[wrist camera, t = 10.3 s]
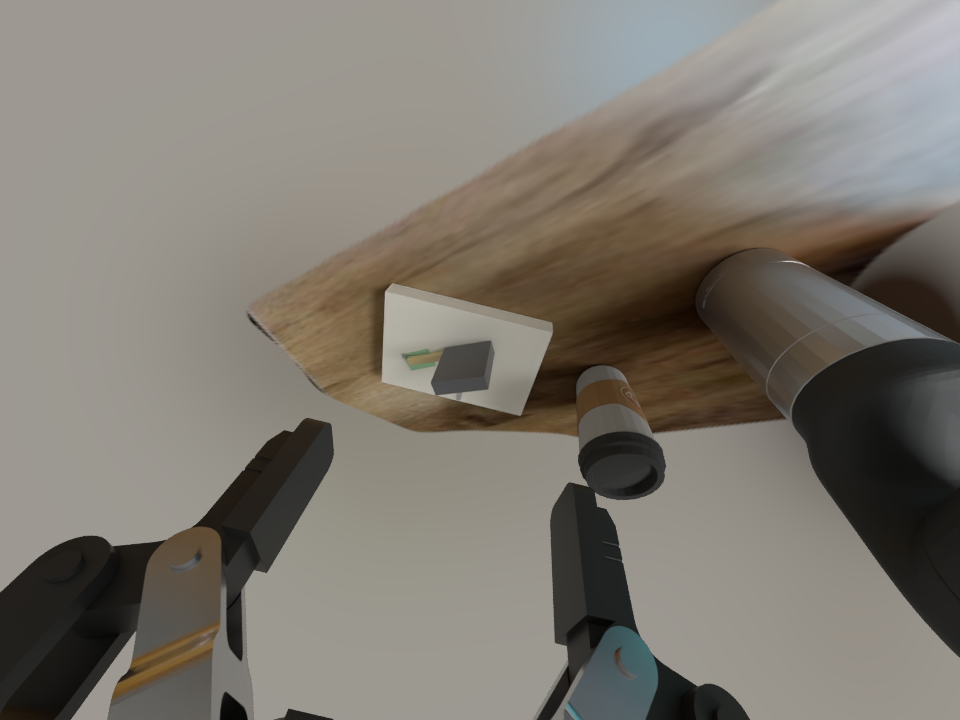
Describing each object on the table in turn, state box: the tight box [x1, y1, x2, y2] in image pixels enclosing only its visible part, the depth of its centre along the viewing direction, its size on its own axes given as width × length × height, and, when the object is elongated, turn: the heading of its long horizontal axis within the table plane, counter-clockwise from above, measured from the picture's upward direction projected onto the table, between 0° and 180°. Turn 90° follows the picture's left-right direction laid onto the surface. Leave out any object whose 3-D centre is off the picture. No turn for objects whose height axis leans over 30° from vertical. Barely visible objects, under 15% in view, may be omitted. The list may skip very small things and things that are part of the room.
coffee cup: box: [576, 365, 666, 500], centre depth 39 cm, size 8×8×15 cm
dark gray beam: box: [407, 341, 495, 395], centre depth 39 cm, size 2×11×7 cm, turn 104°
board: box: [382, 283, 553, 416], centre depth 44 cm, size 20×14×3 cm
